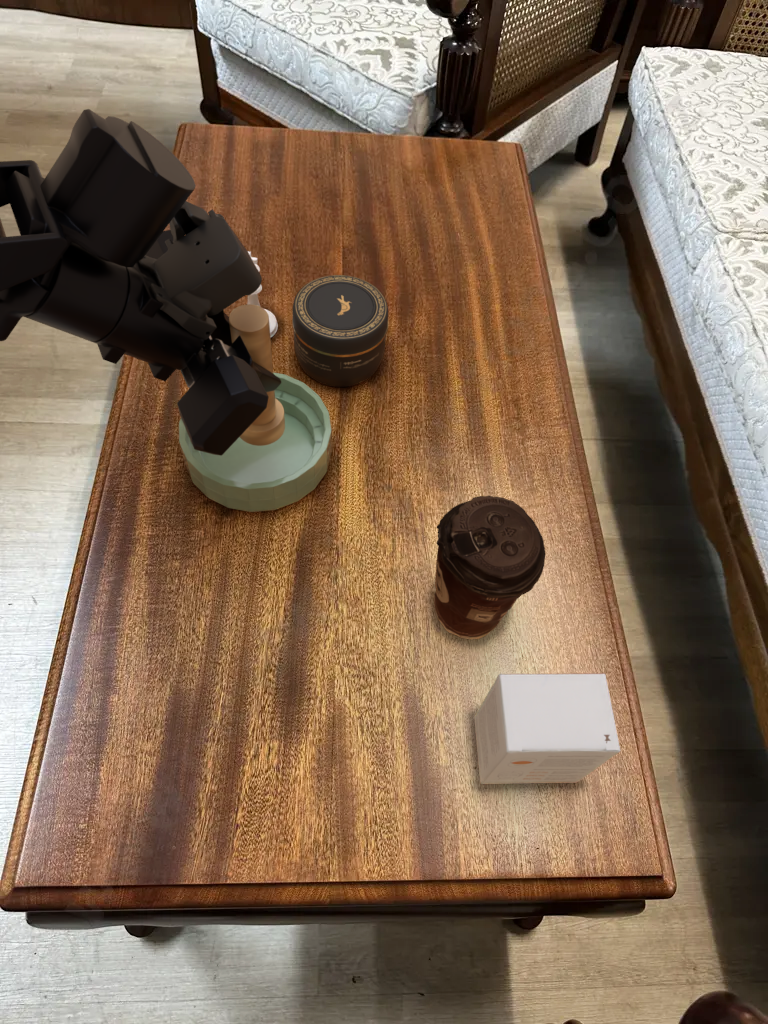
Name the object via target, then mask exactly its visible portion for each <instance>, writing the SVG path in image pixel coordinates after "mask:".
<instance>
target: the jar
mask: <svg viewBox="0 0 768 1024" xmlns="http://www.w3.org/2000/svg"><path fill="white" fill-rule="evenodd" d="M291 321H292V323H291V324H292V329H293V346H294V353H295V356H296V359H297V361H298V363H299V366H300V368H301V369H302V370H303V371H304V373H305V374H306V375H307V376H308V377H310V378H311V379H313V380H315V381H316V382H318V383H320V384H323V385H325V386H329V387H336V388H345V387H352V386H355V385H358V384H359V385H360V384H361V383H363V382H366V381H367V380H368V379H370V378H371V377H372V376H373V375H374V374H375V373H376V372H377V370H378V369H379V366H380V365H381V363H382V361H383V358H384V354H385V348H386V339H387V338H386V337H387V333H388V330H389V306H388V303H387V299H386V298H385V296H384V295H383V293H382V292H381V291H380V289H379V288H377V287H376V286H375V285H374V284H372V283H370V282H368V281H367V280H365V279H362V278H360V277H356V276H352V275H344V274H331V275H325V276H321V277H318V278H314V279H313V280H311V281H309V282H307V283H306V284H304V285H303V286H302V287H301V288H300V289H299V290H298V291H297V293H296V295H295V297H294V299H293V303H292V318H291Z"/></svg>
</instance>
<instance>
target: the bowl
mask: <svg viewBox="0 0 768 1024" xmlns="http://www.w3.org/2000/svg"><path fill="white" fill-rule="evenodd" d="M273 374H274V375H275V376H277V377H278V378H280V380H281V384H280V385H279V386H278V387H277V388H276V389H275V398H276V399H277V400H278V401H279V402H280V403H281V404H282V406H283V408H284V417H285V430H284V433H283V435H282V436H281V437H280V438H279V439H278V440H277V441H275V442H274V443H271V444H268V445H263V446H256V445H251V444H248V443H246V442H245V441H243V440H242V439H241V438H240V437H239V438H238V439H237V440H236V441H235V442H234V443H233V444H232V445H231V446H230V447H229V449H228V450H227V451H226V452H225V453H224V454H223V455H222V456H221V455H213V454H210V453H206V452H202V451H199V450H195V449H194V447H193V445H192V443H191V440H190V438H189V435H188V433H187V431H186V428H185V426H184V423H183V421H182V419H181V418H180V420H179V421H178V443H179V447H180V450H181V454H182V458H183V461H184V465H185V468H186V470H187V473H188V475H189V477H190V479H191V481H192V483H193V485H194V486H196V488H197V489H198V490H199V491H201V493H202V494H203V495H205V496H206V498H207V499H210V500H212V501H213V502H216V503H218V504H220V505H222V506H224V507H225V508H228V509H233V510H238V511H244V512H249V513H255V512H266V511H275V510H278V509H281V508H284V507H287V506H289V505H293V504H295V503H297V502H299V501H300V500H302V499H303V498H304V497H306V496H307V495H309V494H310V493H311V492H313V491H314V490H315V489H316V487H317V486H318V485H319V484H320V482H321V481H322V479H323V478H324V476H325V475H326V474H327V471H328V469H329V465H330V460H331V457H332V424H331V417H330V413H329V410H328V408H327V406H326V405H325V403H324V402H323V399H322V398H321V396H320V395H319V394H318V393H316V392H315V391H314V390H313V388H311V387H310V386H308V385H307V384H306V383H304V382H303V381H301V380H298V379H296V378H294V377H292V376H290V375H288V374H284V373H278V372H274V371H273Z"/></svg>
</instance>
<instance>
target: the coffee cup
mask: <svg viewBox="0 0 768 1024" xmlns="http://www.w3.org/2000/svg"><path fill="white" fill-rule="evenodd" d="M436 529H437V540H436V545H437V546H438V547H437V554H436V564H435V568H436V569H435V578H434V589H435V591H434V594H433V595H434V599H433V600H434V601H433V603H434V604H433V605H434V610H435V614H436V617H437V620H438V621H439V623H440V624H441V625H442V626H443V628H444V630H445V631H446V632H447V633H449V634H451V635H455V636H457V637H459V638H460V639H468V640H478V639H482V638H484V637H486V636H487V635H489V634H490V633H491V632H493V631H494V629H496V628H497V627H498V625H499V624H500V622H501V621H502V620H503V619H504V617H506V615H507V614H508V612H509V611H510V610H511V609H512V608H513V606H514V604H515V603H516V602H517V600H518V599H519V598H521V596H523V595H526V594H527V593H529V592H530V591H531V590H533V588H534V587H535V585H536V584H537V583H538V582H539V580H540V578H541V576H542V574H543V572H544V568H545V561H546V547H545V541H544V538H543V535H542V534H541V531H540V529H539V528H538V526H537V525H536V523H535V521H534V520H533V518H532V517H531V516H530V515H529V514H528V513H527V512H526V510H525V509H524V508H523V507H522V506H520V505H519V504H518V503H516V502H515V501H514V500H511V499H507V498H506V497H502V496H494V495H493V496H492V495H480V496H475V497H472V498H471V500H467V501H465V502H464V501H463V502H461V503H459V504H457V505H455V506H453V507H452V508H450V510H448V511H447V512H446V513H445V514H444V515H443V517H442V518H441V519H440V520H439V524H438V525H437V526H436Z"/></svg>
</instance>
